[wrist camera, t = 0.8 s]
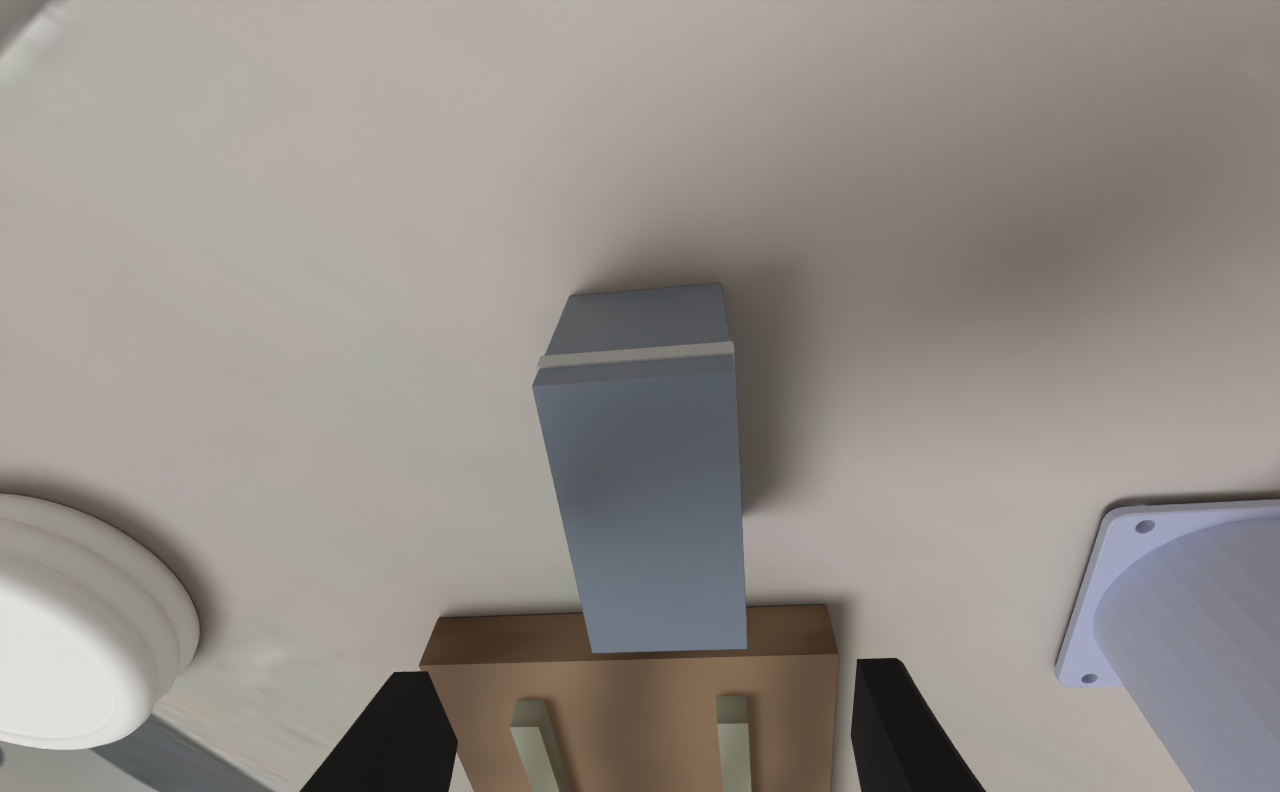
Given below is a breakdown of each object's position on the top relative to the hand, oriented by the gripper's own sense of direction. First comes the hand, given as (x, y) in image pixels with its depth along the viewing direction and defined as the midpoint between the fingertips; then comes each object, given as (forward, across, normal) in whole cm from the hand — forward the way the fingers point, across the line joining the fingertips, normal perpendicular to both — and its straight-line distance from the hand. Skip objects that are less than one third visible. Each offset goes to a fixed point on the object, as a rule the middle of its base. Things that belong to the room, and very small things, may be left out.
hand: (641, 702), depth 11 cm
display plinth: (+9, +2, +15) cm, 18 cm away
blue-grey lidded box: (+9, 0, 0) cm, 9 cm away
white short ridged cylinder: (+10, +23, +6) cm, 26 cm away
